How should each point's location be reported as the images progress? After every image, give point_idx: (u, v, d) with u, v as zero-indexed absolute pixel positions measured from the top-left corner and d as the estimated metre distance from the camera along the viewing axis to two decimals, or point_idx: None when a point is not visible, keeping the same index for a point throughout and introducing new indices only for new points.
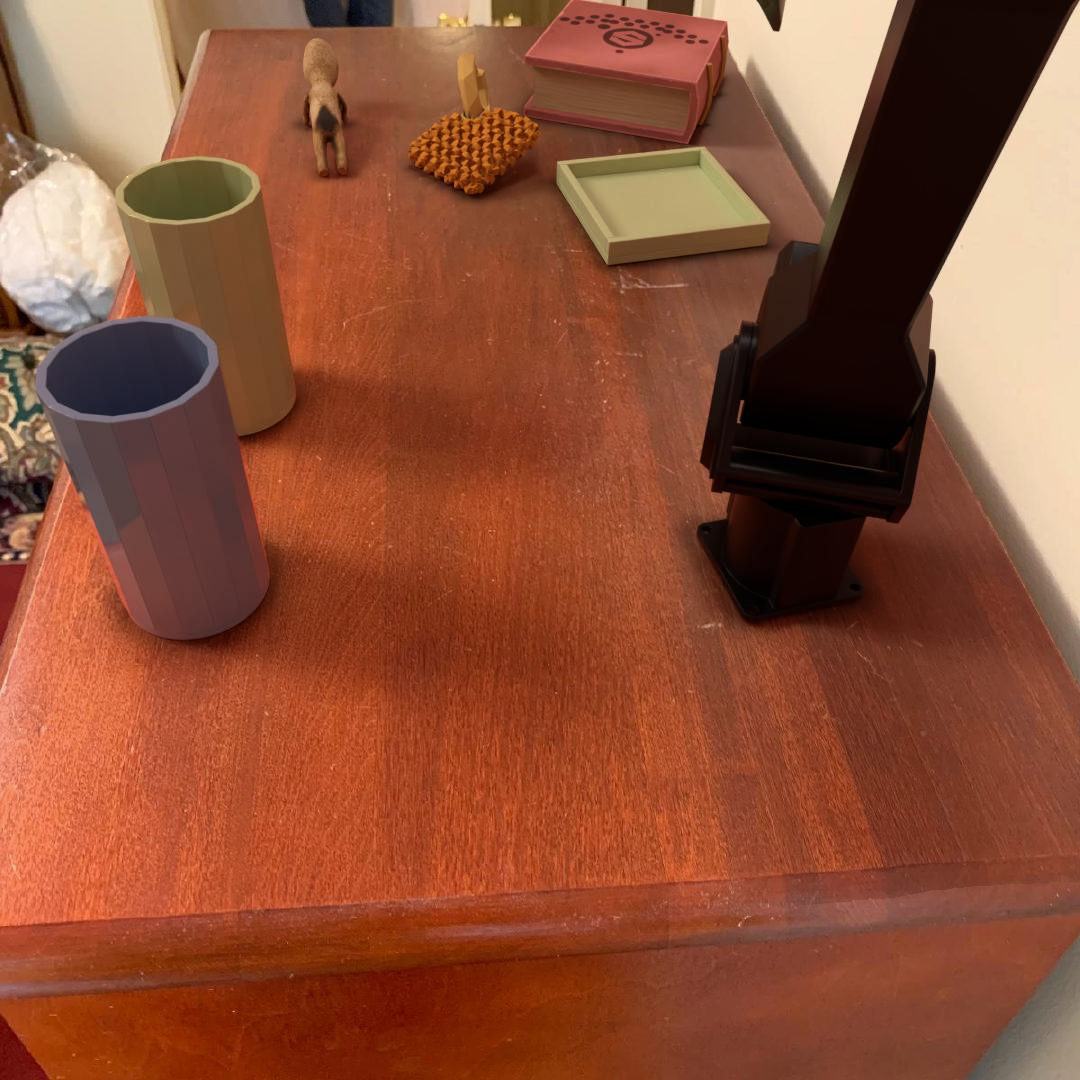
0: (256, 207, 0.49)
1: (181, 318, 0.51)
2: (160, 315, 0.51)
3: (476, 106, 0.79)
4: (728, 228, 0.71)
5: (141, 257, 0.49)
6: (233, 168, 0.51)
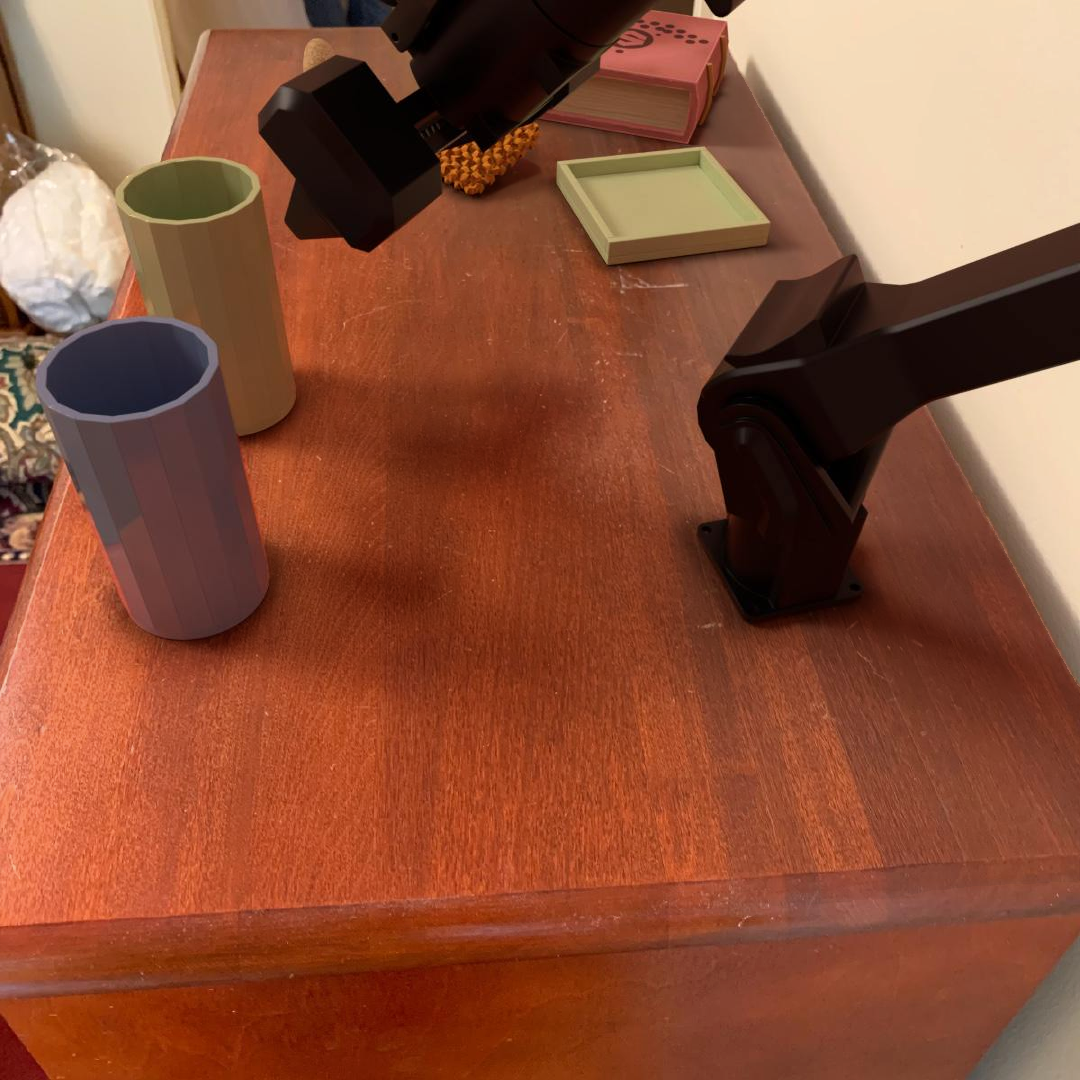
0: (256, 207, 0.49)
1: (181, 318, 0.51)
2: (160, 315, 0.51)
3: None
4: (728, 228, 0.71)
5: (141, 257, 0.49)
6: (233, 168, 0.51)
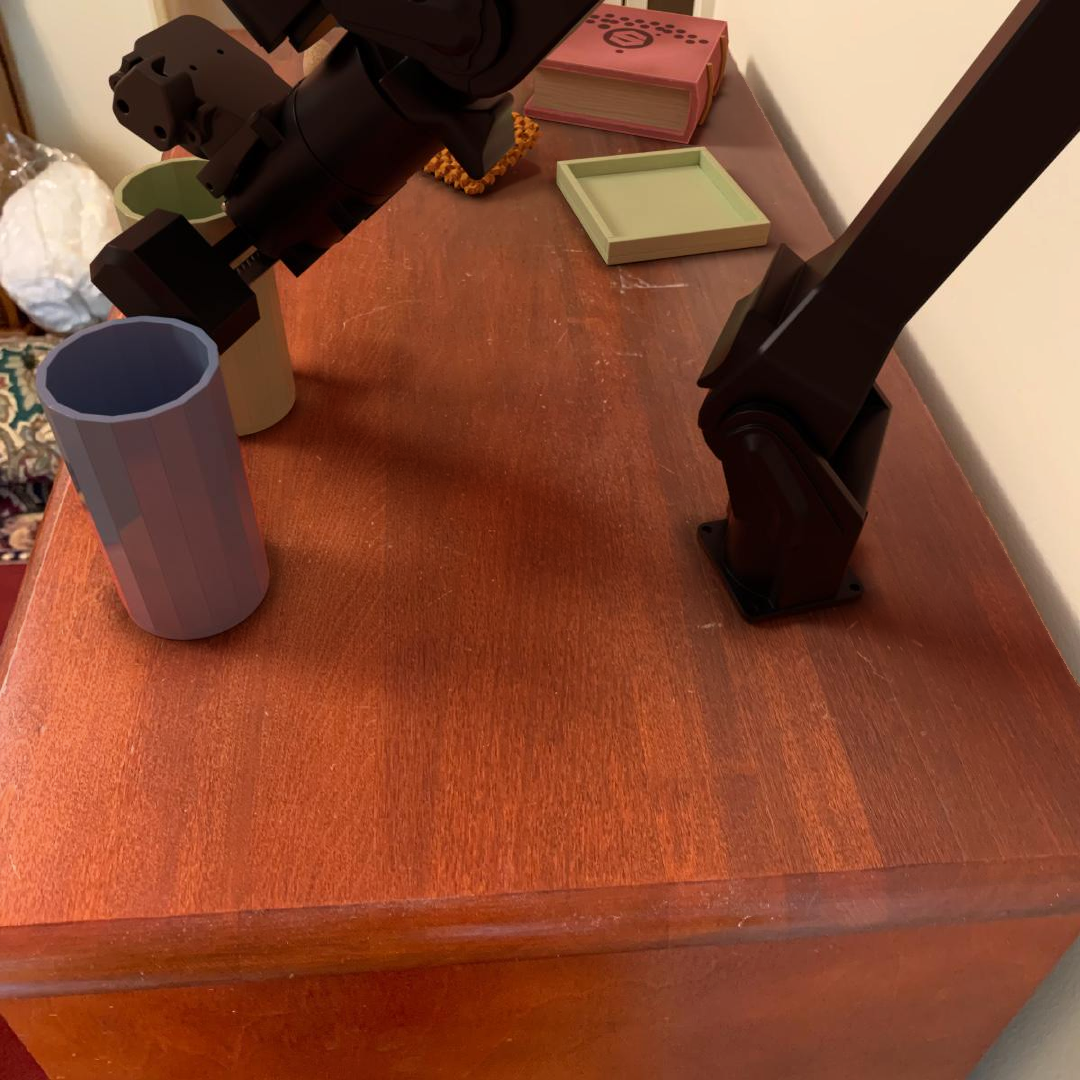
0: None
1: None
2: None
3: None
4: (728, 228, 0.71)
5: None
6: None
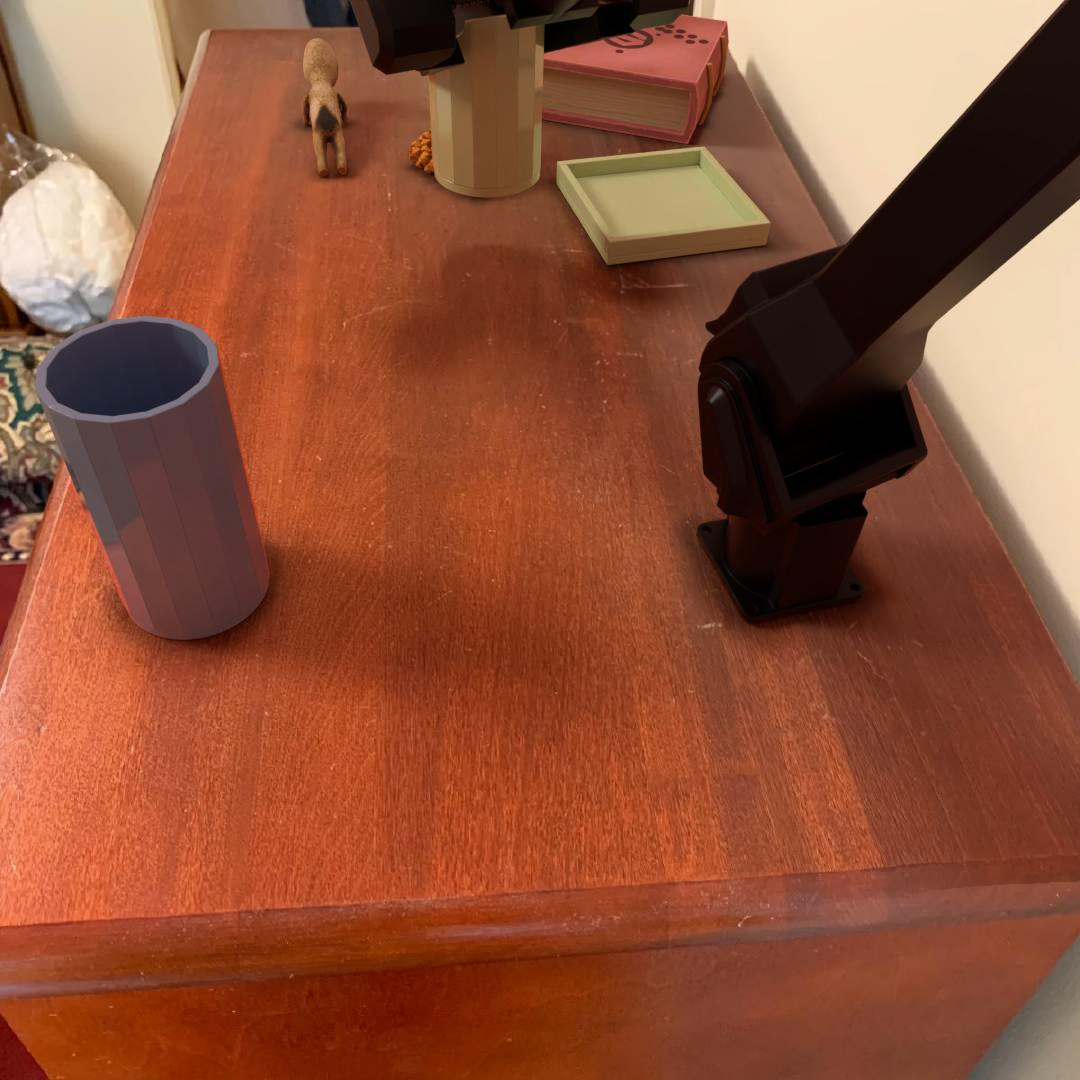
0: None
1: None
2: None
3: None
4: (728, 228, 0.71)
5: None
6: None
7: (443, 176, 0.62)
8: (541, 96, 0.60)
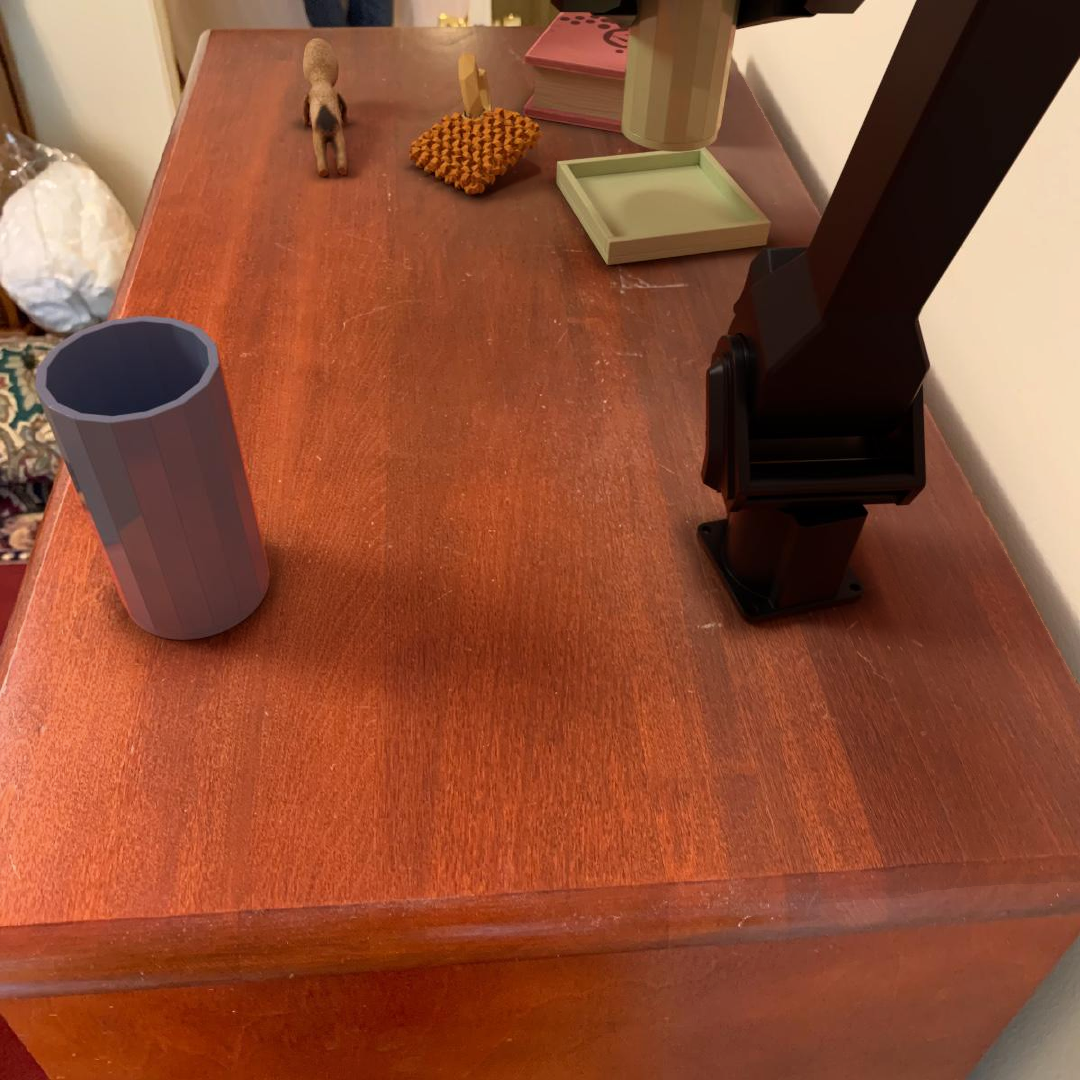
0: None
1: None
2: None
3: (477, 106, 0.79)
4: (728, 228, 0.71)
5: None
6: None
7: (624, 124, 0.69)
8: (723, 65, 0.65)
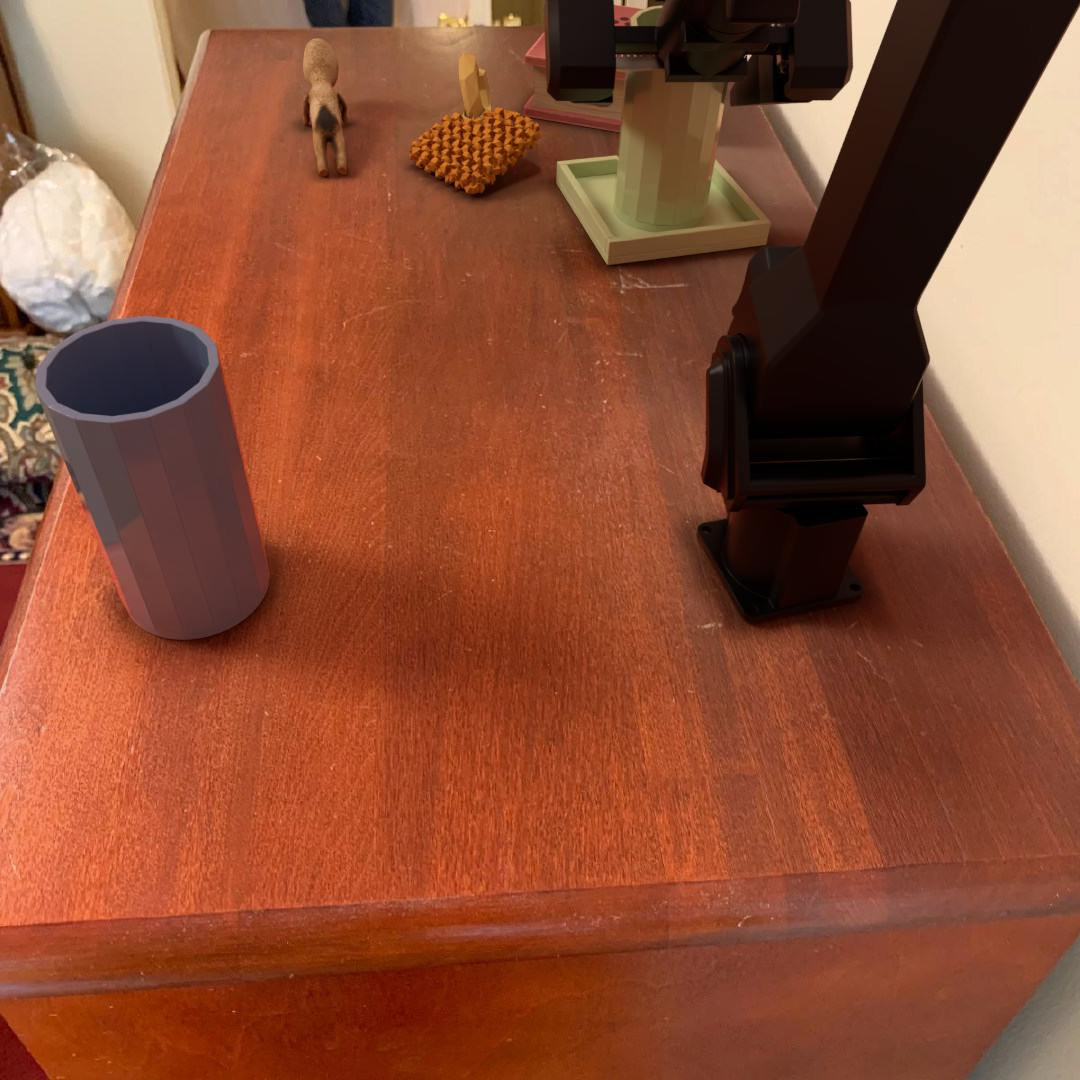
0: None
1: (626, 109, 0.68)
2: (622, 103, 0.69)
3: (477, 106, 0.79)
4: (728, 228, 0.71)
5: None
6: None
7: (616, 205, 0.73)
8: (710, 155, 0.69)
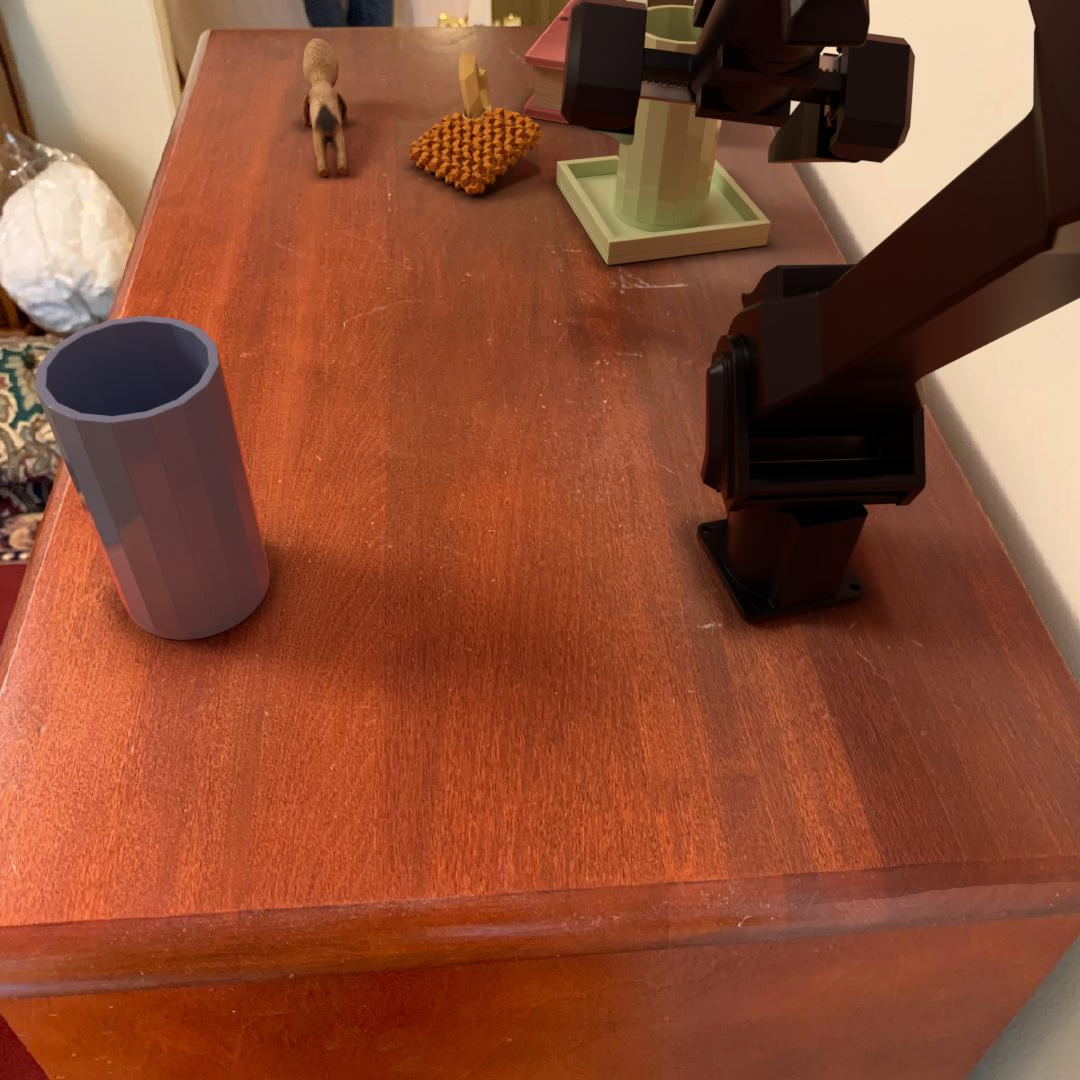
0: None
1: None
2: None
3: (477, 106, 0.79)
4: (728, 228, 0.71)
5: None
6: None
7: (616, 205, 0.73)
8: (710, 155, 0.69)
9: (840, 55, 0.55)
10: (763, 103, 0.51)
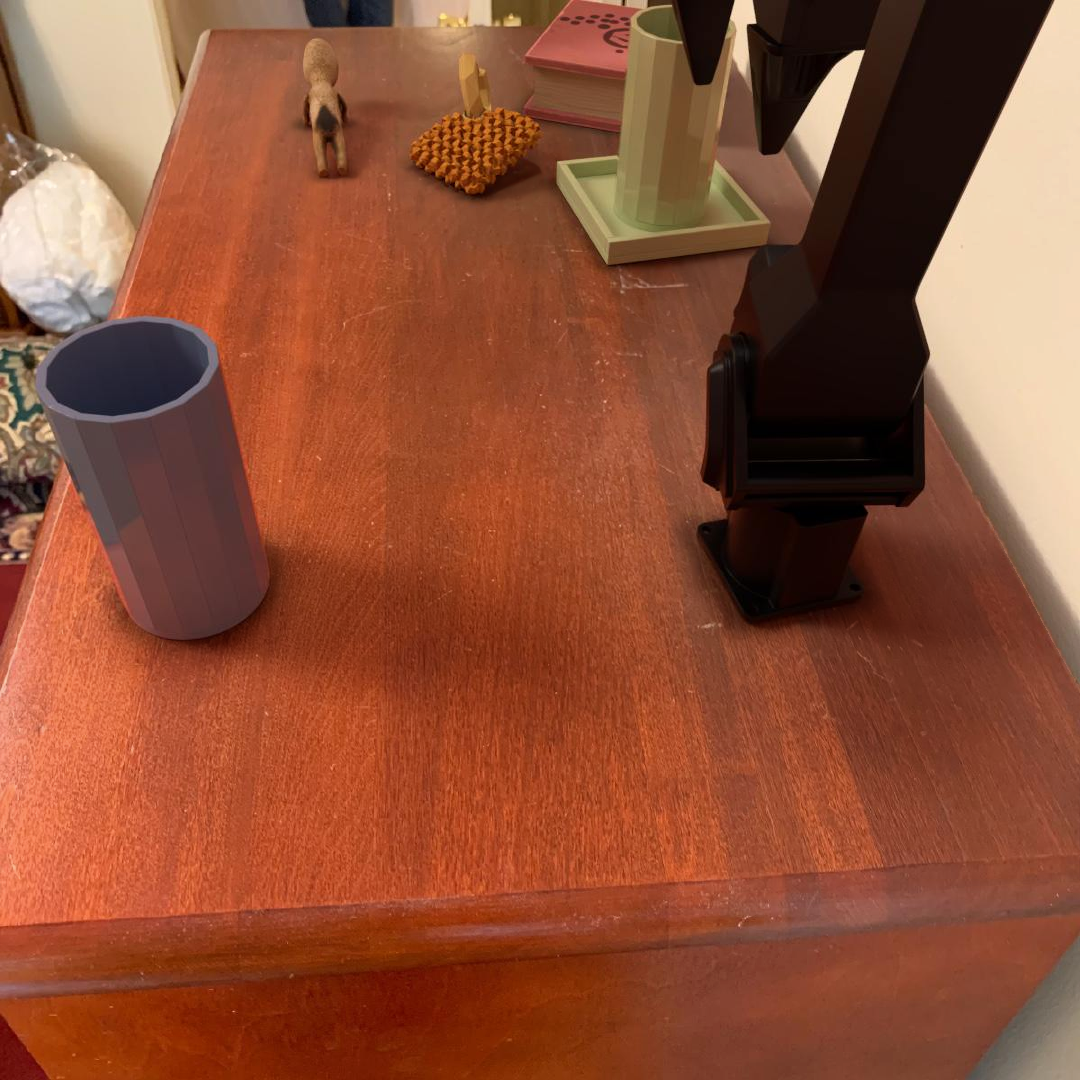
0: None
1: (626, 109, 0.68)
2: (622, 103, 0.69)
3: (477, 106, 0.79)
4: (728, 228, 0.71)
5: (627, 53, 0.67)
6: (729, 29, 0.65)
7: (616, 205, 0.73)
8: (710, 155, 0.69)
9: None
10: None
